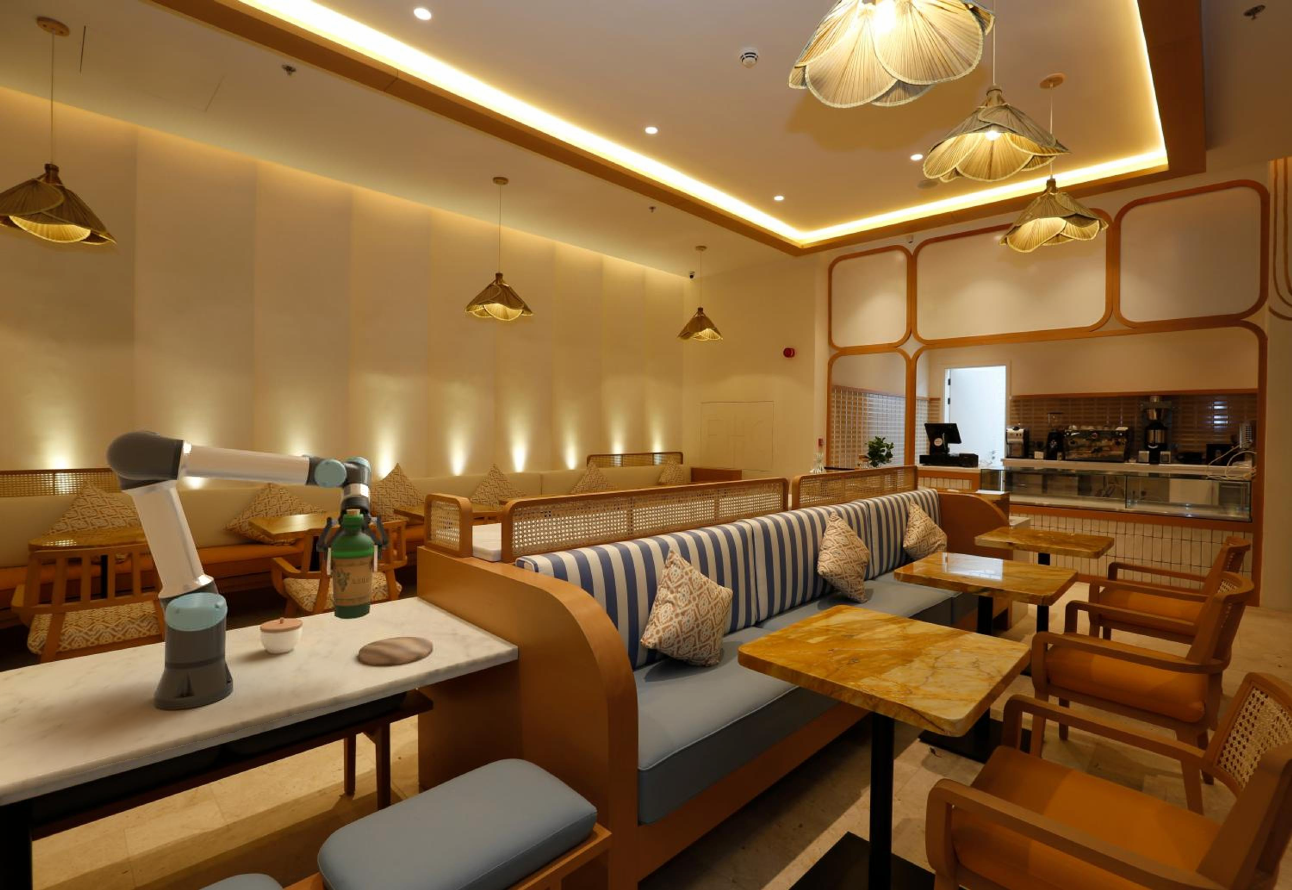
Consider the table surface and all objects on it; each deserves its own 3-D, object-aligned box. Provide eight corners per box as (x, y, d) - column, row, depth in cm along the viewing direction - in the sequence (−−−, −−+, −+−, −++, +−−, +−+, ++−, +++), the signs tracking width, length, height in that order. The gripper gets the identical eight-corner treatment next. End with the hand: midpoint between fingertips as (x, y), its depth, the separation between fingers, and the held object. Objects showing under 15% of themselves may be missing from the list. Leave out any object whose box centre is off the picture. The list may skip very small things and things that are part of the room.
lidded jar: (287, 657, 171) (288, 624, 171) (250, 655, 171) (251, 622, 171) (309, 644, 181) (310, 613, 181) (274, 643, 182) (275, 612, 182)
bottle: (334, 623, 152) (335, 513, 151) (325, 613, 160) (326, 509, 160) (379, 616, 158) (380, 510, 158) (368, 607, 167) (369, 506, 166)
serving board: (394, 670, 163) (394, 664, 163) (342, 657, 171) (342, 652, 171) (447, 648, 181) (447, 643, 181) (398, 637, 189) (398, 633, 189)
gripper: (398, 510, 178) (399, 574, 163) (310, 513, 168) (303, 581, 154) (399, 494, 173) (400, 559, 159) (308, 496, 163) (301, 565, 149)
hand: (352, 570), depth 156 cm, fingers closed on bottle, 10 cm apart
